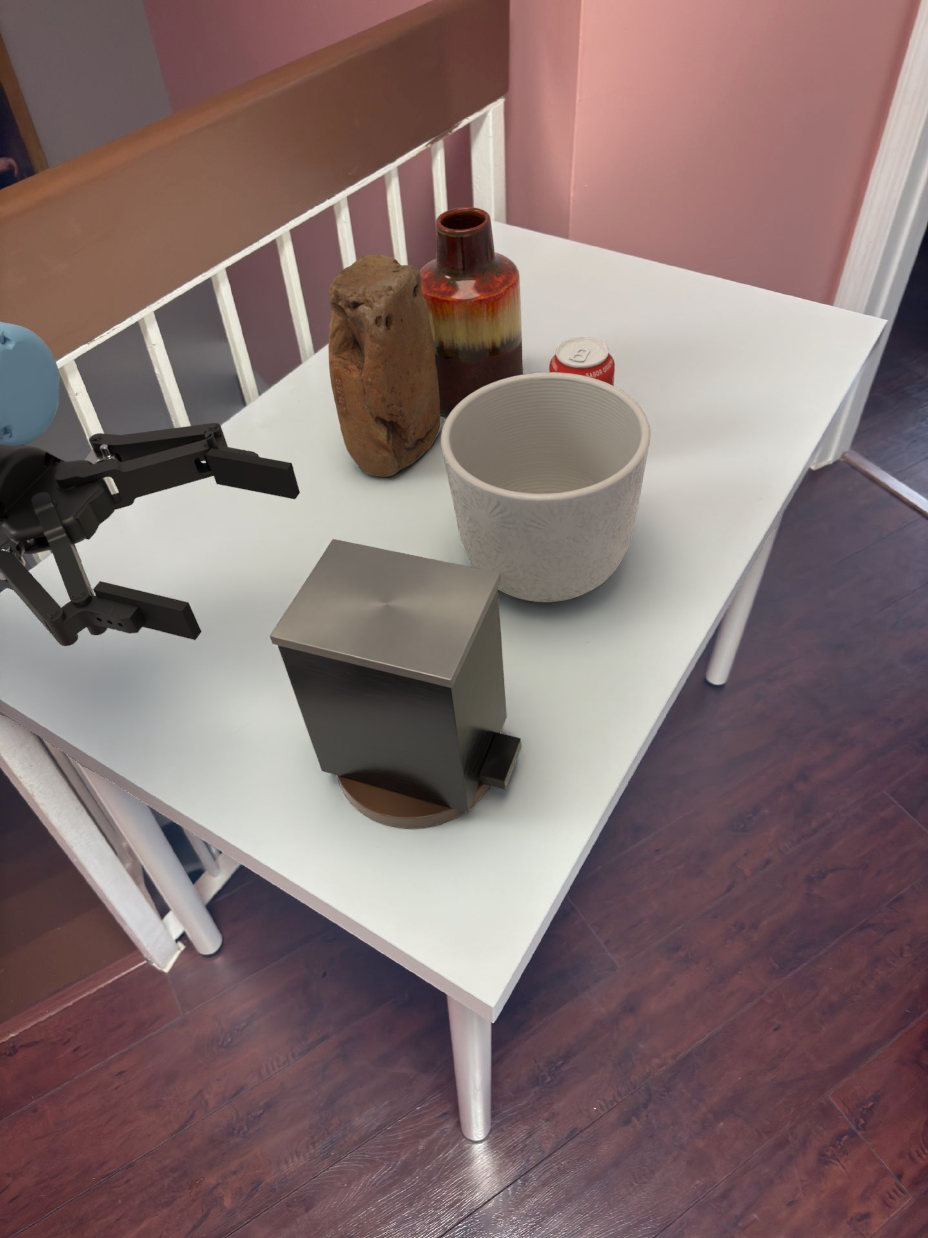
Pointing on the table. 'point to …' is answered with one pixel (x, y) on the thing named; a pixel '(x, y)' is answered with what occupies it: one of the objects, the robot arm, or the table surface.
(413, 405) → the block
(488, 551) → the planter
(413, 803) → the disc
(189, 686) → the table surface
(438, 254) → the vase
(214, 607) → the table surface
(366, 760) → the bin
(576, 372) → the beverage can
